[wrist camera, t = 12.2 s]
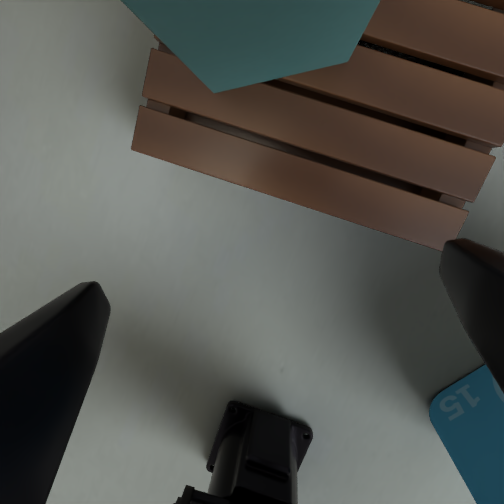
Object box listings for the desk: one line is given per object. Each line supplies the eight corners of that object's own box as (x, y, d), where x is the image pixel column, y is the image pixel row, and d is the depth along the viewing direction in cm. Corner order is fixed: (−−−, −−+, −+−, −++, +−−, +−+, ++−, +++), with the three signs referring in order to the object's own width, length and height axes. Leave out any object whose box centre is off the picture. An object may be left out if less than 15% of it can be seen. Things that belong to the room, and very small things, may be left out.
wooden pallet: (414, 235, 20) (448, 253, 15) (164, 153, 20) (130, 149, 16) (516, 12, 17) (597, -44, 12) (217, -79, 17) (192, -163, 13)
